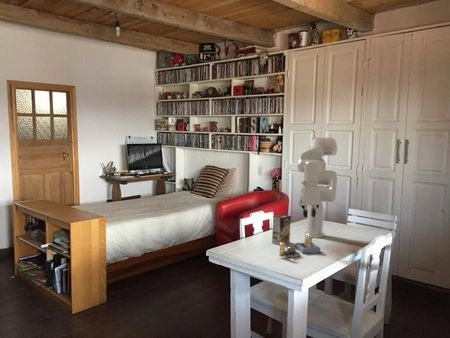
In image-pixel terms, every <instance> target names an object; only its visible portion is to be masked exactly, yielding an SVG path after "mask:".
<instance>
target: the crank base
mask: <svg viewBox="0 0 450 338" xmlns="http://www.w3.org/2000/svg"><path fill="white" fill-rule="evenodd" d="M300 253H301V252H300V251H295V254H287V255H285V256H284V257H285V258H290V259H293V260H294V261H299V258H300V257H301V256H300V255H301V254H300Z"/></svg>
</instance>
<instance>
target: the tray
mask: <svg viewBox="0 0 450 338" xmlns="http://www.w3.org/2000/svg"><path fill="white" fill-rule="evenodd" d="M304 243H305V242H295V247H296V250H297V251H298V252H299V253H301V254H302V255H304V254H306V255H310V254H321V247H320V246H318V245H317V244H316V243H314V242H313V241H312V248H304Z"/></svg>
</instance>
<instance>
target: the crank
mask: <svg viewBox="0 0 450 338" xmlns="http://www.w3.org/2000/svg"><path fill="white" fill-rule="evenodd" d="M285 249H286V250H285ZM296 250H297V249H296V246H293V245H288V246H287V247H286V244H285V243H284V242H280V245H279V257H285V255H287V254H295V251H296ZM296 252H297V251H296Z"/></svg>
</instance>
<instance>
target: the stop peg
mask: <svg viewBox="0 0 450 338" xmlns="http://www.w3.org/2000/svg"><path fill="white" fill-rule="evenodd" d="M312 242H313V237H311V236H306V235H305V236H304V242H303V243H304V248H312Z"/></svg>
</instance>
